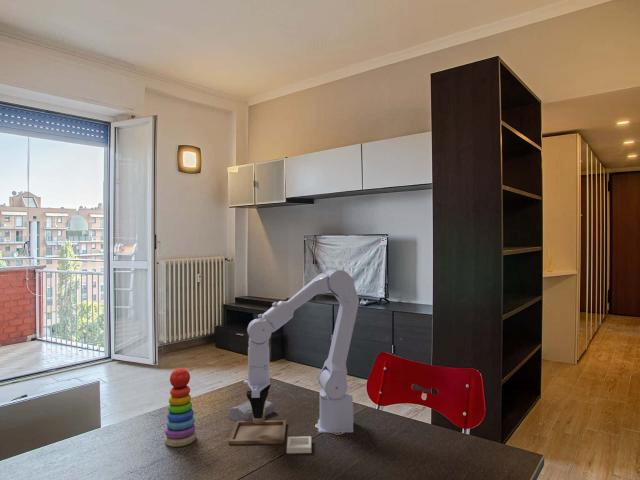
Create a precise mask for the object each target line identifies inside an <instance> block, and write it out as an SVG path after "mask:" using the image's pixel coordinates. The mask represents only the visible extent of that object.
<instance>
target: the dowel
mask: <svg viewBox="0 0 640 480" xmlns="http://www.w3.org/2000/svg"><path fill="white" fill-rule="evenodd" d="M265 421H266V416H265V404H264V410H263V416H262V418H254V416H253V423H255V424H261V423H264V422H265Z"/></svg>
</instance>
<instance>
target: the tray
mask: <svg viewBox="0 0 640 480" xmlns="http://www.w3.org/2000/svg"><path fill="white" fill-rule="evenodd" d="M286 428H287V420H285V419H283V420H282V419H281V420H280V419H279V420H277V419H276V420H275V419H274V420H265V422H264V423H261V424H255V423H253V421H236V420H235V423H234V427H233V429H232V431H231V434H230V437H229V440H228V446H229V445H230V446H231V445H233V446H234V445H283V444H285V437H286Z"/></svg>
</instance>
